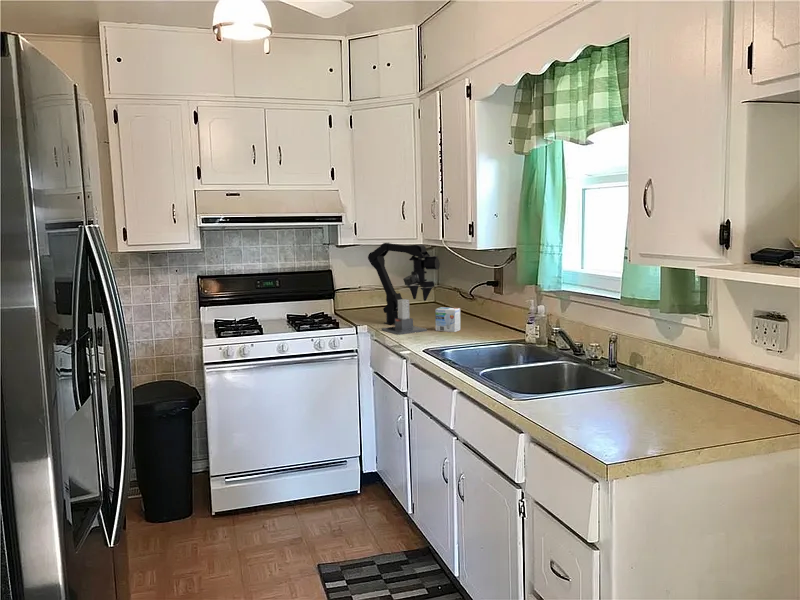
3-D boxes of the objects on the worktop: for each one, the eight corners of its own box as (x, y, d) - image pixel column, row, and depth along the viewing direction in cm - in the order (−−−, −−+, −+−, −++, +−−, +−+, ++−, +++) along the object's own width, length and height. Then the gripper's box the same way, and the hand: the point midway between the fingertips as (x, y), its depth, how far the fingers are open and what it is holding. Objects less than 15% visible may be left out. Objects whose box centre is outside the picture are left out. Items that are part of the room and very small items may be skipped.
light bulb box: (435, 330, 326) (434, 308, 325) (440, 328, 332) (440, 307, 331) (455, 332, 321) (455, 309, 320) (460, 330, 327) (460, 308, 326)
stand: (381, 330, 331) (381, 318, 330) (408, 326, 339) (408, 315, 339) (399, 334, 317) (398, 322, 317) (426, 330, 326) (426, 318, 325)
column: (397, 320, 328) (397, 299, 327) (405, 319, 331) (404, 299, 329) (402, 321, 325) (402, 300, 324) (409, 320, 327) (409, 299, 326)
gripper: (395, 269, 343) (396, 299, 345) (416, 271, 327) (416, 303, 329) (413, 268, 349) (414, 297, 351) (434, 270, 333) (435, 301, 335)
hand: (419, 300), depth 341 cm, fingers open, 9 cm apart
